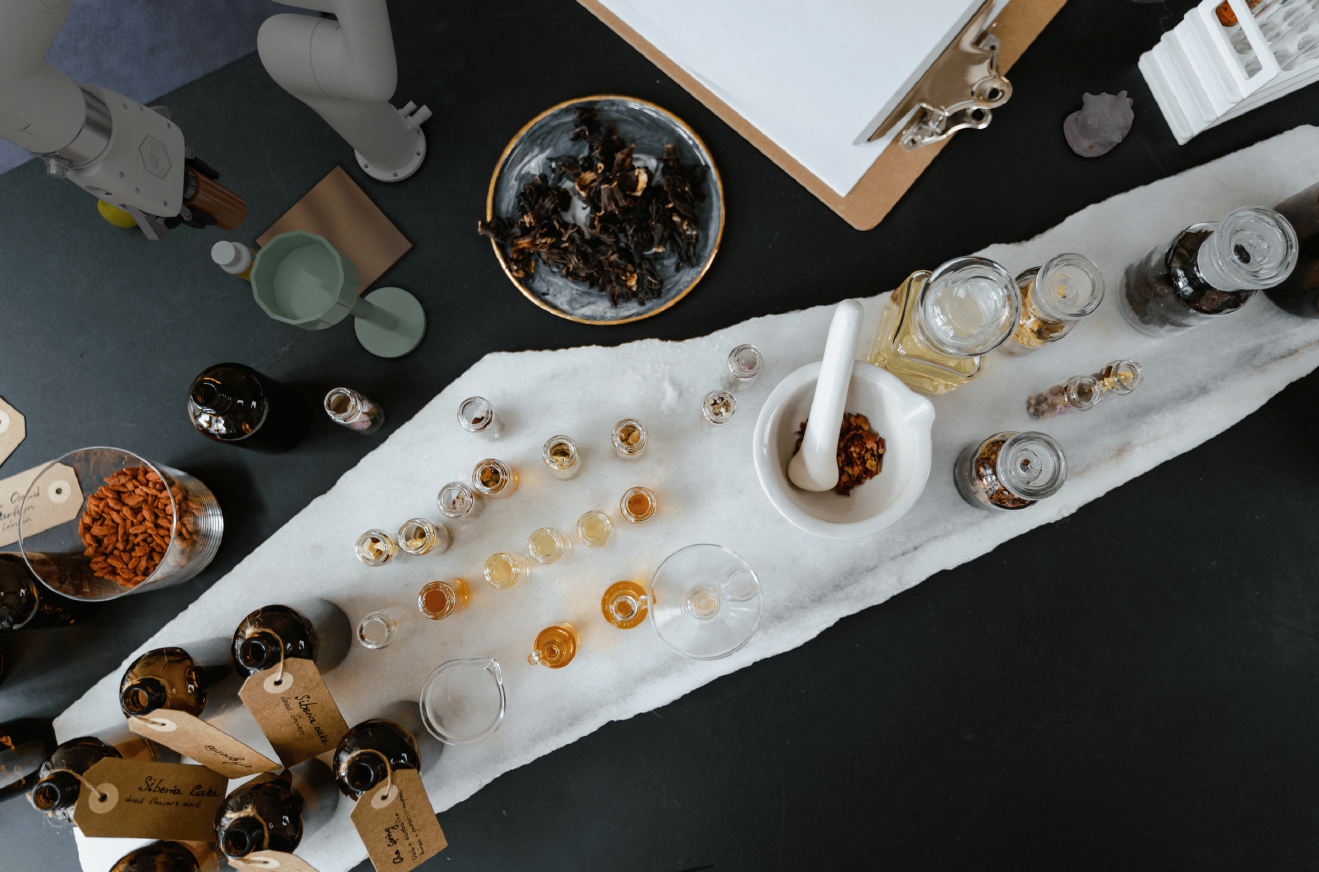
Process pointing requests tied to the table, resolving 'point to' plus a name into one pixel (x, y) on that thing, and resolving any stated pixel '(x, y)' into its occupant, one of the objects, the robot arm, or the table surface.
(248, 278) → the supplement bottle
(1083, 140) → the seashell
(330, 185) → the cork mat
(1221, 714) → the table surface
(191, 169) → the amber bottle
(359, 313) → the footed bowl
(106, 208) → the fruit
